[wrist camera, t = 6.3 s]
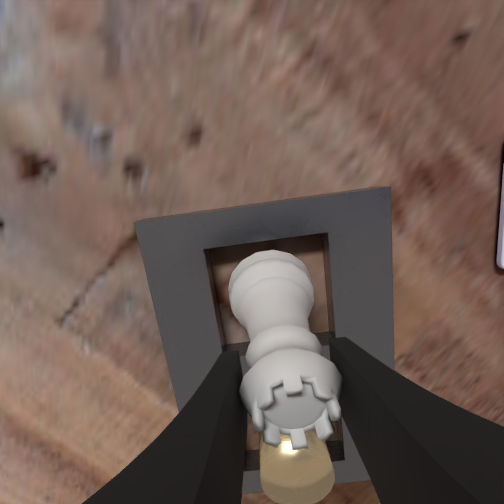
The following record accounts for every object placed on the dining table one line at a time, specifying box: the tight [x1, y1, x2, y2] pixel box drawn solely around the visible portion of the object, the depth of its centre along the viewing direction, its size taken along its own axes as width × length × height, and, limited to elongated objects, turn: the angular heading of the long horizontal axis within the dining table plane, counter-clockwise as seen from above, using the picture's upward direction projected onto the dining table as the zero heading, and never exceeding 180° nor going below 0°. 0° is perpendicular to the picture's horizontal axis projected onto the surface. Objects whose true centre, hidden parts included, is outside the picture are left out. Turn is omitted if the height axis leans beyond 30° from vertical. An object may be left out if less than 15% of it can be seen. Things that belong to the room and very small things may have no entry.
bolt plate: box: [134, 187, 394, 504], centre depth 16 cm, size 14×20×5 cm
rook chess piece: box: [228, 250, 343, 451], centre depth 11 cm, size 4×4×8 cm
